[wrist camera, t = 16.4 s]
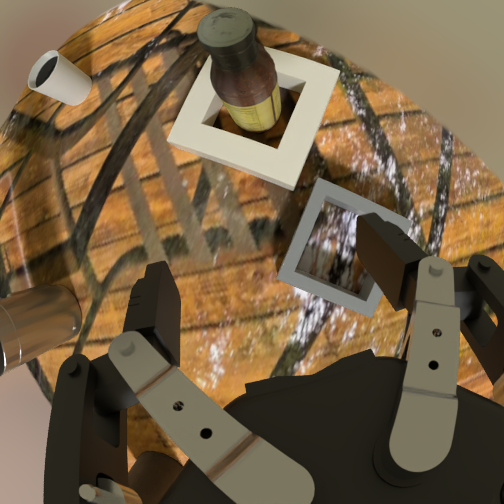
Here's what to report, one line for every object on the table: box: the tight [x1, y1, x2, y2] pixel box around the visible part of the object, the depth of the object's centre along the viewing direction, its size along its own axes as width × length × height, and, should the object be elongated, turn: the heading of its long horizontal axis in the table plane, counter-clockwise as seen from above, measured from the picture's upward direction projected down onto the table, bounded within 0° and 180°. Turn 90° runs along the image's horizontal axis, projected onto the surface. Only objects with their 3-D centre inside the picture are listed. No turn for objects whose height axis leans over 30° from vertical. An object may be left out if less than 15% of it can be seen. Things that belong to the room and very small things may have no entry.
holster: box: [276, 177, 412, 318], centre depth 34 cm, size 12×12×4 cm
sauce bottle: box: [197, 7, 281, 133], centre depth 26 cm, size 6×6×20 cm
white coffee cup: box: [28, 50, 92, 106], centre depth 33 cm, size 7×7×10 cm
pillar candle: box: [128, 452, 183, 504], centre depth 34 cm, size 10×10×15 cm
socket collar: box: [167, 46, 340, 191], centre depth 33 cm, size 16×16×4 cm
